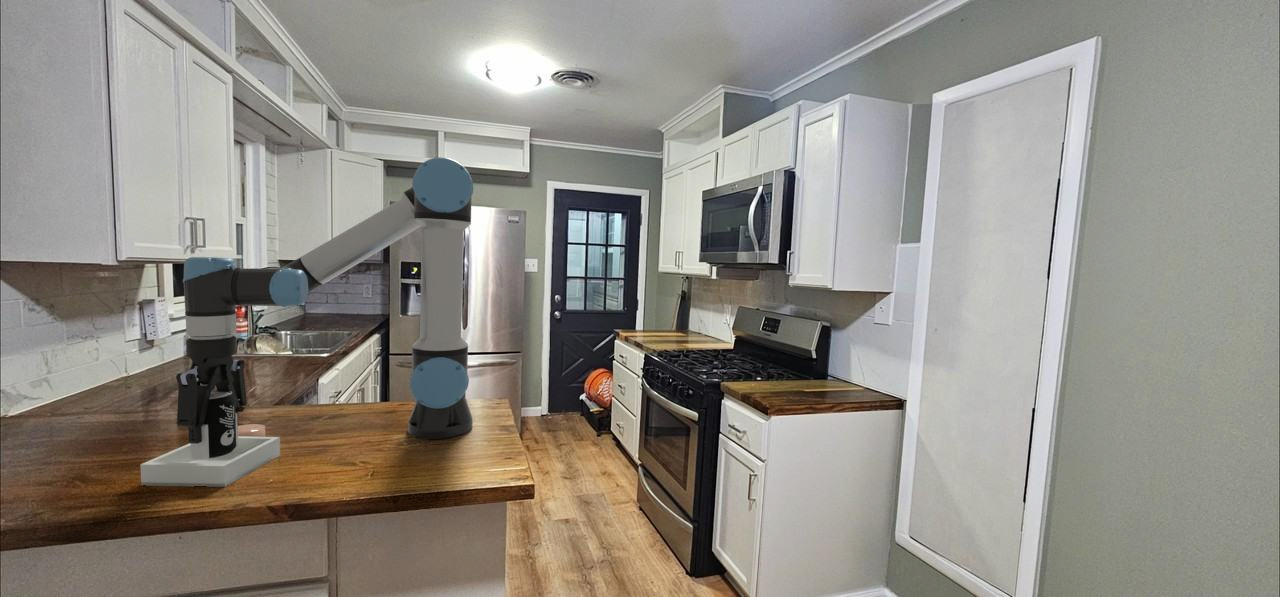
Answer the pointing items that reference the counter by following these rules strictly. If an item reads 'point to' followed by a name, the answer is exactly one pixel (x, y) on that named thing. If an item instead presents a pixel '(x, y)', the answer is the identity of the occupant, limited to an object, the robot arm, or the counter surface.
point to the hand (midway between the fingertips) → (215, 450)
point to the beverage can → (221, 423)
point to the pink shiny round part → (251, 430)
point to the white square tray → (210, 464)
